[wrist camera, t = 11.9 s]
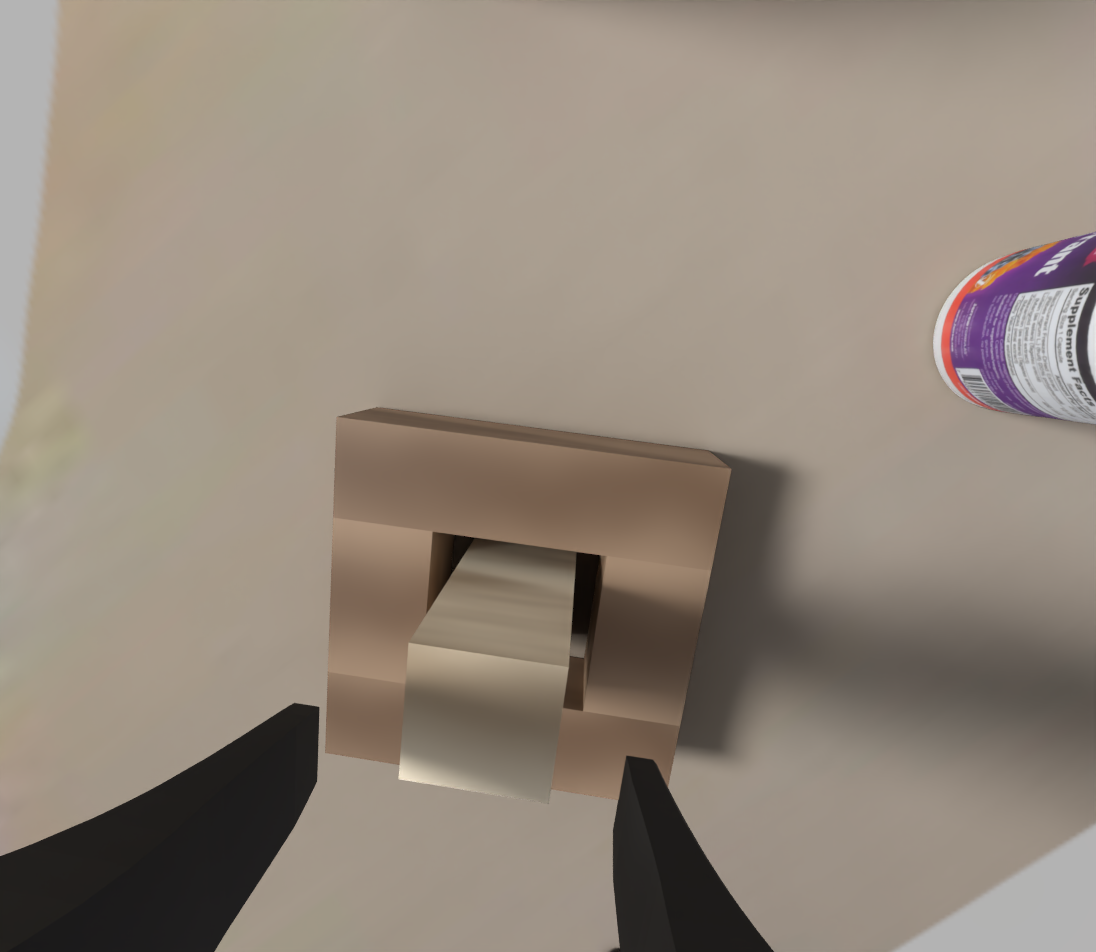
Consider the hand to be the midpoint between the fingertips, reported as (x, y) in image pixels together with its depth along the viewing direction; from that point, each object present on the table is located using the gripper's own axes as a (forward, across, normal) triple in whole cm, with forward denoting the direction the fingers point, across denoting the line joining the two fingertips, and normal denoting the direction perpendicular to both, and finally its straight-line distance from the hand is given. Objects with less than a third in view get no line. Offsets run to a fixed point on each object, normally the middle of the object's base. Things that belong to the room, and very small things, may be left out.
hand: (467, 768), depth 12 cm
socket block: (+10, 0, 0) cm, 10 cm away
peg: (+10, 0, 0) cm, 10 cm away
